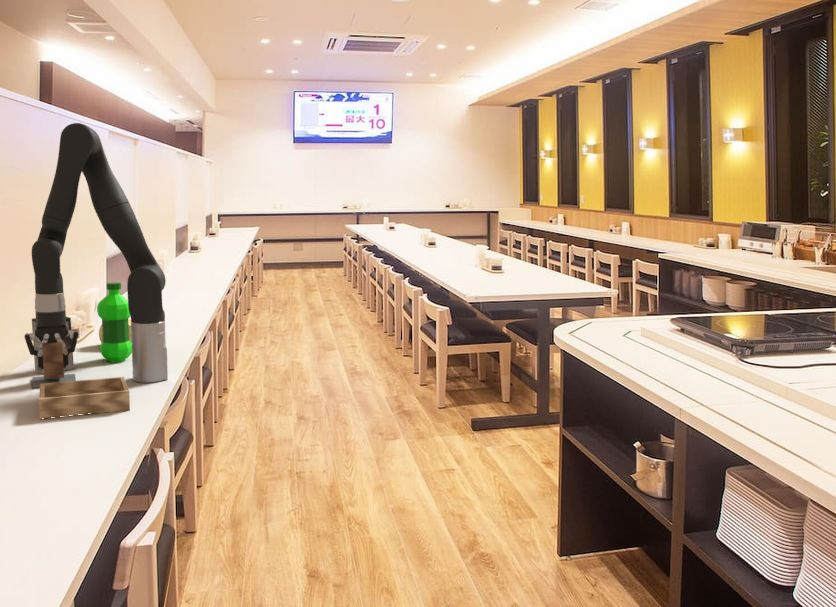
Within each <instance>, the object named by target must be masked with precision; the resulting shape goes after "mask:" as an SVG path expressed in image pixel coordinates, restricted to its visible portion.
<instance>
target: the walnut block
mask: <svg viewBox="0 0 836 607" xmlns="http://www.w3.org/2000/svg"><path fill="white" fill-rule="evenodd" d="M42 350H43V368H44V374H43V376H44V379H51V378H64V375H65V372H64V371H65V370H64V367H63V347H62V342H59V343H58V342H52V343H42Z"/></svg>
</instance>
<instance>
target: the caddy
mask: <svg viewBox="0 0 836 607" xmlns="http://www.w3.org/2000/svg"><path fill="white" fill-rule="evenodd" d="M38 394H39V395H38V405H39V406H38V407H39V420H40V419H42V418H51V417H60V416H69V415H78V414H88V413H100V414H103V413H102V412H109V413H113V412H112V411H119V412H125V410H129V411H130V410H131V409H130V408H131V406H130V404H131V403H130V401H131V400H130V390H129V387H128V383H127V381H126V378H125V377H124V376H117V377H116V376H115V377H106V378H104V377H103V378H95V379H93V378H92V379H83V380H76V381H68V382H56V383H44V384H40V388H39V392H38ZM42 420H43V419H42Z"/></svg>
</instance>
